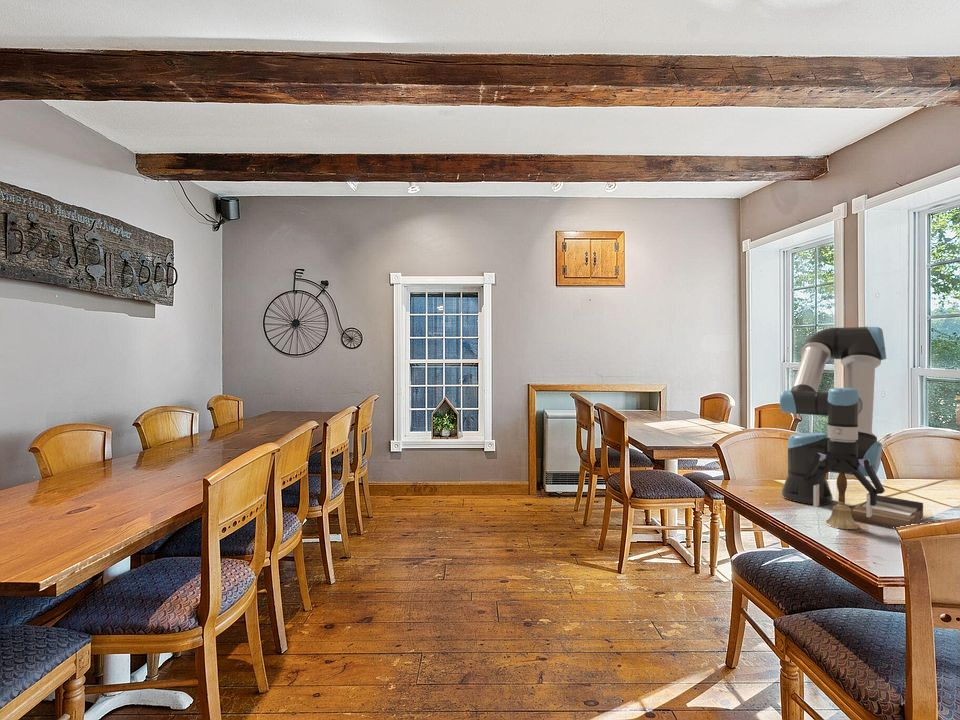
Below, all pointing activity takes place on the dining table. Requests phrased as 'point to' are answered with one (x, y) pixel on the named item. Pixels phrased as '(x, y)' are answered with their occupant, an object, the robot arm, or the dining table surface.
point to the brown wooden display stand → (890, 512)
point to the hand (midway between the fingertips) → (841, 511)
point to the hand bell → (842, 508)
